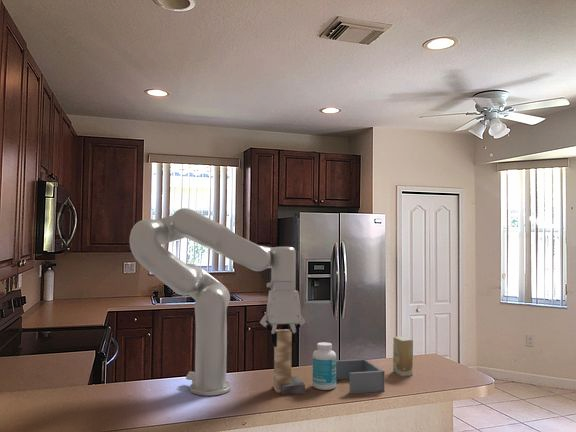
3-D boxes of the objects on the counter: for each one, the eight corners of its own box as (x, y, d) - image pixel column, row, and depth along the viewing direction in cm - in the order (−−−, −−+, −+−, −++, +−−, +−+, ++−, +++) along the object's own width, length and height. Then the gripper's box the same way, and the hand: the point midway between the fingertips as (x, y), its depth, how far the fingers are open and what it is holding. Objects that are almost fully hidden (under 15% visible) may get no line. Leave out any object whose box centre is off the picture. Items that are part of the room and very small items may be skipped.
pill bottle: (337, 391, 144) (337, 346, 145) (312, 390, 144) (313, 346, 145) (335, 383, 151) (335, 341, 152) (312, 383, 152) (312, 340, 152)
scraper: (278, 395, 140) (278, 334, 141) (272, 385, 149) (273, 328, 149) (304, 393, 142) (305, 333, 142) (297, 384, 151) (298, 327, 151)
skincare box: (392, 371, 166) (392, 336, 166) (403, 370, 167) (403, 335, 167) (402, 376, 159) (402, 340, 160) (413, 375, 161) (413, 339, 161)
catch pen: (350, 393, 142) (350, 373, 142) (334, 378, 156) (335, 360, 157) (384, 391, 144) (384, 371, 144) (365, 376, 159) (365, 358, 159)
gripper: (258, 288, 141) (257, 349, 140) (312, 287, 144) (312, 347, 144) (254, 285, 148) (254, 344, 147) (306, 284, 152) (306, 341, 151)
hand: (282, 344), depth 145 cm, fingers closed on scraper, 4 cm apart
